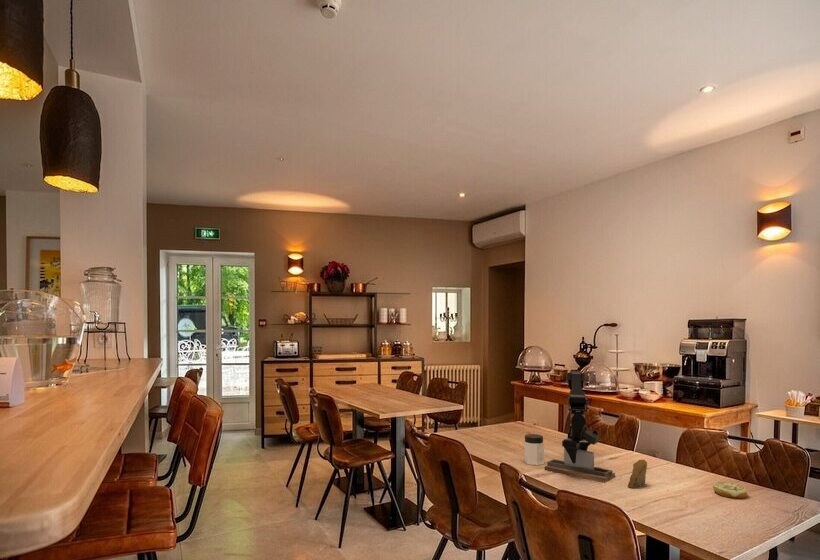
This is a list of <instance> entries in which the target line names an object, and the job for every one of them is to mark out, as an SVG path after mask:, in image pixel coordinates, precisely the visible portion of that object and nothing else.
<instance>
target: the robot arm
mask: <svg viewBox="0 0 820 560" xmlns="http://www.w3.org/2000/svg"><path fill="white" fill-rule="evenodd" d="M566 383H567V385H568V389H569V390H570V391H569V395H568V396H567V407H568V409H567V411H569V412H570V424H569V426H568V430H567V438H565V439H564V438H563V440H562V441H561V446H562V447H563V449H564V448H565V449H566V451H567V453H568V455H569V457H570V459H571V461H572V463H574V464H575V463H576V454H577V450H584V451H588V449H589V447H590V446H591V445H596V444H598V442H599V440H600V439H601V436H600V432H599V430H597V429H595V430H593V431H591V430H589V429H588V426H587V425H586V422H587V421H586V420H587V419H586V412H587V413H588V410H589V407H590V405H589V399H588V397H587V396H586V392H585V391H584V390H583V389H584V387H585V386H584V383H586V373H584V372H582V371H579V370H572V371H569V372H566Z"/></svg>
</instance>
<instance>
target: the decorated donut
mask: <svg viewBox="0 0 820 560" xmlns="http://www.w3.org/2000/svg"><path fill="white" fill-rule="evenodd" d="M712 488H713V490H714V492H715V493H716V494H717V495H719V496H721V497H724V498H729V499H730V498H732V499H736V500H737V499H746V498H747V496H748V489H747V488H746V487H744V486H743V485H741V484H737V483H734V482H730V481H717V482H715V483H712Z"/></svg>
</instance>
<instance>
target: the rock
mask: <svg viewBox="0 0 820 560" xmlns="http://www.w3.org/2000/svg"><path fill="white" fill-rule="evenodd" d="M632 467H633V468H632V474H630V477H629V482H628V484H627V487H628V488H631V489H635V488H638V487H640V485H641V486H642V485H645V484H646V476H647V475H646V473H647V469H648V462H647V461H646V460H645V459H639V460H637V461H635V462H634V463H633V464H632Z"/></svg>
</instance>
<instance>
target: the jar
mask: <svg viewBox="0 0 820 560" xmlns="http://www.w3.org/2000/svg"><path fill="white" fill-rule="evenodd" d="M523 455H524V456H523V457H524V458H523V459H524V460H523V461H524V463H525V464H527V465H529V464H530V466H531V465H532V466H541V465H544V464H545V443H544V437H543V435H542V434H539V433H538V434H537V433H536V434H535V433H529V434H525V435H524V441H523Z"/></svg>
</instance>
